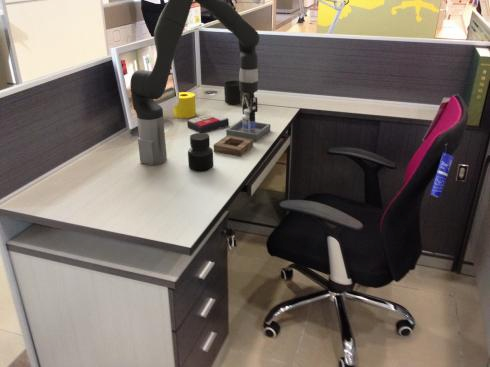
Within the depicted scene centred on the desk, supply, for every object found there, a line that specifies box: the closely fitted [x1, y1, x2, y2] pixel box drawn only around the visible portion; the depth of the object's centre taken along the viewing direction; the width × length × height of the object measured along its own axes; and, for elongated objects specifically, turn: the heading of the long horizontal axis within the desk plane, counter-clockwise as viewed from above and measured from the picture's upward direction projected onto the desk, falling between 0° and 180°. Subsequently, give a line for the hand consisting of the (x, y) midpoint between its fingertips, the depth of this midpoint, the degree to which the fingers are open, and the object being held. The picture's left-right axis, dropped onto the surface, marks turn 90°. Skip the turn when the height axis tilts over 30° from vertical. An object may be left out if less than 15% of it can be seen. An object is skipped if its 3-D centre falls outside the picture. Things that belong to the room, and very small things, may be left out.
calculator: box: [186, 112, 230, 133], centre depth 209 cm, size 11×4×15 cm
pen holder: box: [223, 80, 242, 106], centre depth 239 cm, size 9×9×10 cm
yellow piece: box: [173, 91, 197, 119], centre depth 222 cm, size 10×10×9 cm
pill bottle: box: [241, 108, 256, 133], centre depth 198 cm, size 5×5×10 cm
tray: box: [225, 119, 271, 143], centre depth 200 cm, size 14×14×3 cm
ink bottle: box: [187, 132, 214, 173], centre depth 168 cm, size 10×9×12 cm
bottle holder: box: [213, 135, 254, 158], centre depth 185 cm, size 12×12×3 cm
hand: (248, 117), depth 198 cm, fingers open, 8 cm apart
